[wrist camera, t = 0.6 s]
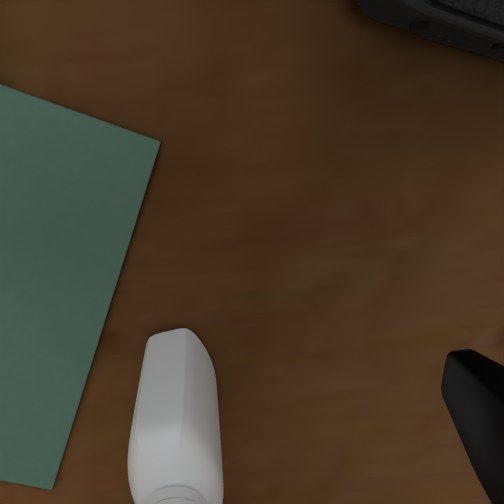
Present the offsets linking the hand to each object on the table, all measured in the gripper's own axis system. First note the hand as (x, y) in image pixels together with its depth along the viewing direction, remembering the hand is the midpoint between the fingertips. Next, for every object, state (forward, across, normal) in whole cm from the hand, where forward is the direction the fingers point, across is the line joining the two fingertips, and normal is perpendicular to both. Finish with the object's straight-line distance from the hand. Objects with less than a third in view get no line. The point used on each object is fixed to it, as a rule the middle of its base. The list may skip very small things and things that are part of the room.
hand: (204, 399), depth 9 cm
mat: (+14, +11, +6) cm, 19 cm away
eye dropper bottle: (+14, +2, +11) cm, 18 cm away
